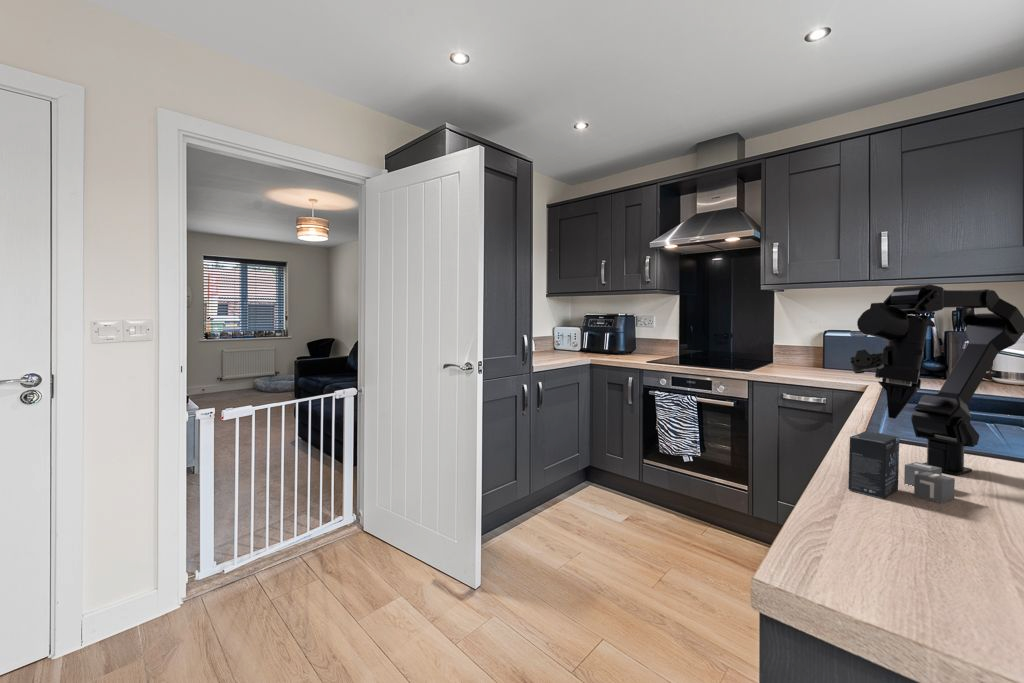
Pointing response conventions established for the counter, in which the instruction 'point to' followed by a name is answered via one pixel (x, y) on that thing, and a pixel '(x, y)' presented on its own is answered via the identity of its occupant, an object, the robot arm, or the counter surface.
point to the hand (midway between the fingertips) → (892, 418)
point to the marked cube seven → (934, 487)
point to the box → (873, 464)
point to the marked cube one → (918, 471)
